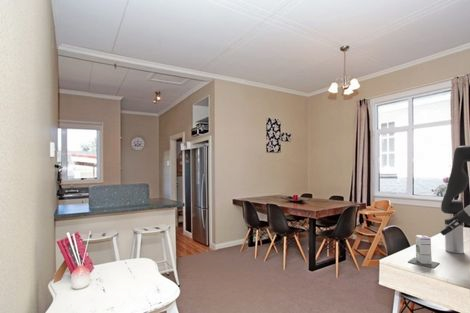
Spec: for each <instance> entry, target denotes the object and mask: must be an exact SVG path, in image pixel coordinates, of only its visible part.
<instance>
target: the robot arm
mask: <svg viewBox="0 0 470 313" xmlns="http://www.w3.org/2000/svg"><path fill="white" fill-rule="evenodd" d="M468 162H470V145H460V146H457V147H456V148H455V150H454V153H453V159H452V167H451V171H450V175H449V177H448V182H447V186H446V190H445V193H444V196H443V198H442V201H441V205H440V208H441V212H442V213H444V214H448V215H454V216H452V217H449V218H446V219H444V229H443V230H441V231H440V234H441V235H443V236H444V247H445V251H446V252H449V253H453V254H464V253H465V251H464V250H465V249H464V248H465V246H464V243H465V241H464V225H465V224H466V225H467V226H470V204H469V205H466V206H465V207H464V203H463V201H462V200H460V199H455V198H456V197H457V196H460V195H461V194H462V193H463V192H465V191H466V190H467V188H468V184H469V181H470V177H469V175H468V174H467V172H466V171H465V170H464V168H463V164H464V163H468Z"/></svg>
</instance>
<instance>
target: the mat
mask: <svg viewBox="0 0 470 313" xmlns="http://www.w3.org/2000/svg"><path fill="white" fill-rule="evenodd" d="M407 263H408V264H412V265H417V266H421V267H426V268H430V269H435V268H436V267H437V266H439V265H440V263H441V262H440V261H435V260H432V264H422V263H420V262H418V261H417V260H416V256H414V257H412V258H411V259H409V260H408V261H407Z"/></svg>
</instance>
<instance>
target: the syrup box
mask: <svg viewBox="0 0 470 313" xmlns="http://www.w3.org/2000/svg"><path fill="white" fill-rule="evenodd" d="M431 239H432V238H431V237H429V236H427V235H423V234H422V235H421V234H416V235H415V252H416V253H415V257H416V260H417V261H418V262H420V263H422V264H432V261H433V260H432V258H433V257H432V240H431Z"/></svg>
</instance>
